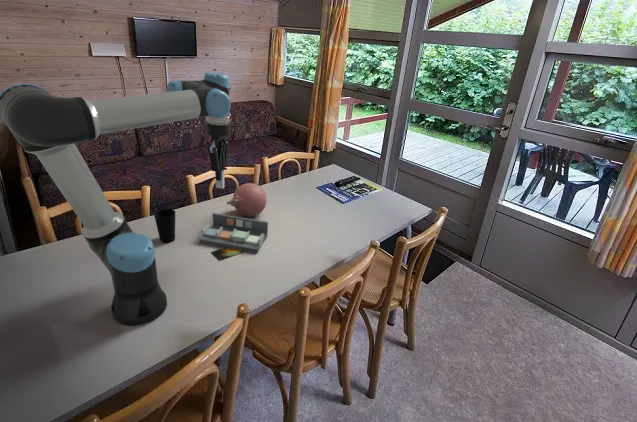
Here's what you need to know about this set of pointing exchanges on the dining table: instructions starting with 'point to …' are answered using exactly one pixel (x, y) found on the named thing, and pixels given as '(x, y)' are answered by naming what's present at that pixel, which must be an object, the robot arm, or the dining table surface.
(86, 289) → the dining table surface
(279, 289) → the dining table surface
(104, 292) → the dining table surface
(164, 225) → the cup
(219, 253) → the smartphone
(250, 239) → the key cream
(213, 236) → the key slate
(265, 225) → the keypad
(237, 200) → the balloon
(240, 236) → the key sage
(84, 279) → the dining table surface
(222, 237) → the key terracotta
